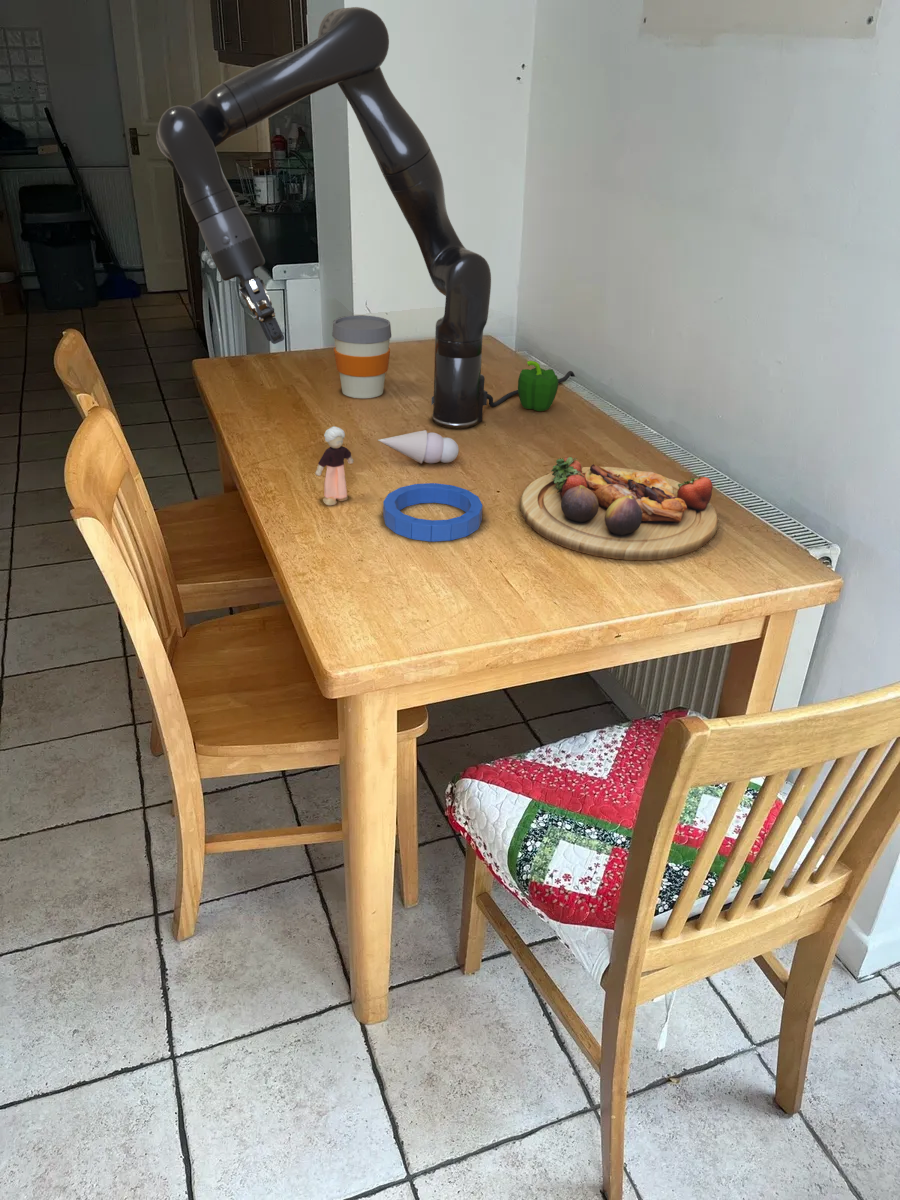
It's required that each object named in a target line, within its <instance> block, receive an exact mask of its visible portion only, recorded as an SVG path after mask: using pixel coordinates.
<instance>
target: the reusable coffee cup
mask: <svg viewBox="0 0 900 1200" xmlns="http://www.w3.org/2000/svg"><path fill="white" fill-rule="evenodd" d="M331 335H332V338H333V339H334V341H333V342H334V347H333V353H334V359H335V360H334V361H335V366H336V371H337V372H338V373H339V379H340V387H341V392H342V394H343V395H344V396H346V397H349V398H353V399H373V398H376V397H380V396H381V395H383V394H384V388H385V381H386V380H385V379H386V373H387V372H388V370H389V364H390V355H391V348H390V341H391V339H392V327H391V321H390V320H389V319H387V318H384V317H380V316H376V315H365V314H355V315H346V316H341V317H340V316H339V317H338V318H336V319H334V320H333V321H332V333H331Z"/></svg>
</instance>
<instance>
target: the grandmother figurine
mask: <svg viewBox="0 0 900 1200" xmlns="http://www.w3.org/2000/svg"><path fill="white" fill-rule="evenodd" d="M323 435H324V441H325V442H327V445H328V446H329V447H327V448H326V449H325V451H324V452H323V453H322V455H321V457H320V459H319V460H318V463H317V467H316V470H315V471H314V473H315V476H316V477H321V476H322V474H323V471H324V469H325V468H326V471H325V476H324V483H323V496H324V497H323V498H322V502H323V503H324V505H326V506H335V505H336V504H338V501H339V502H344V501H347V500H348V499H349V497H348V489H347V480H346V474H345V473H346V472H345V460H346V461H347V463H348V464H349V465H352V464H354V458H353V455H352V452H351V451H350V450H349V449H348V447H345V446H343V444H344V439H345V437H346V433H345V431H344V429H342V428H341V427H339V426H335V425H334V426H330V427H329V428H328V429H326V430H325V432H324V434H323Z"/></svg>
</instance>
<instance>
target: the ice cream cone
mask: <svg viewBox="0 0 900 1200" xmlns="http://www.w3.org/2000/svg"><path fill="white" fill-rule="evenodd" d="M377 441H378V442H380V443H382V444H384V445H386V446H387V447H389V448H391V449H393V450H395V451H397V452H398V453H400V454H401V455H404V456H406V457H408V458H410V459H411V460H413V461H415V462H417V463H419V464H423V463H426V464H437V463H439V462H441V463H443V464H448V463H452V462H453V461H455V460H456V459H457V457H458V455H459V453H460V452H459V450H460V449H459V445H458V443H457V442H456V441H455V440H454V439H453V438H451V437H445V436H444V437H443V436H442V435H441V434H439V433H437V432H434V431H433V432H428V431H427V429H424V430H419V431H413V432H409V433H405V434H400V435H395V436H391V437H386V438H380V439H377Z"/></svg>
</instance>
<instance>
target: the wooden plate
mask: <svg viewBox="0 0 900 1200" xmlns="http://www.w3.org/2000/svg"><path fill="white" fill-rule="evenodd" d="M555 463H556V464H555V465H553V466H552V469H551V470H550V473H547V474H544V475H542V476H540V477H538V478H536V479H535V480H533V481H532V482H531V483H529V484H528V485H527V486H526V487H525V489H524V490H523V491H522V494H521V496H520V500H519V509H520V514H521V515H522V517H523V519H524V521H525V523H526V524H527V525H528V527H530V528H531V529H532V530H534V531H535V532H536V533H537V534H539V535H540V536H542V537H543V538H545V539H546V540H548V541H549V542H552V543H554V544H556V545H559V546H561V547H564V548H566V549H569V550H572V551H574V552H579V553H582V554H587V555H590V556H595V557H601V558H609V559H614V560H624V561H625V560H626V561H656V560H664V559H671V558H674V557H675V558H676V557H679V556H683V555H686V554H689V553H692V552H694V551H696V550H698V549H701V548H702V547H703V546H705V545H706V544H708V543H709V542H710V541H711V540H712V539H713V538H714V536H715V534H717V531H718V528H719V527H718V526H719V517H718V513H717V511H716V509H715V507H714V506H713V504H712V503H711V502H710V501H711V499H712V494H713V487H714V486H713V482H712V480H711V478H709V477H707V476H704V475H703V476H702V475H700V476H699V477H695V476H694V478H692V477H690V480H691V481H690V480H687V481H684V480H683V483H681V482H680V481H678V480H674V479H672V478H669V477H667V476H664V475H662V474H660V473H655V472H654V471H644V470H637V469H632V468H626V467H616V466H599V465H595V464H591V465H590V466H582V464H581V462H579V461H578V460H577V457H576V458H573V457H572V456H569V457H564V458H563V457H562V458H561V457H560V458H558V459H556V460H555Z"/></svg>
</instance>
